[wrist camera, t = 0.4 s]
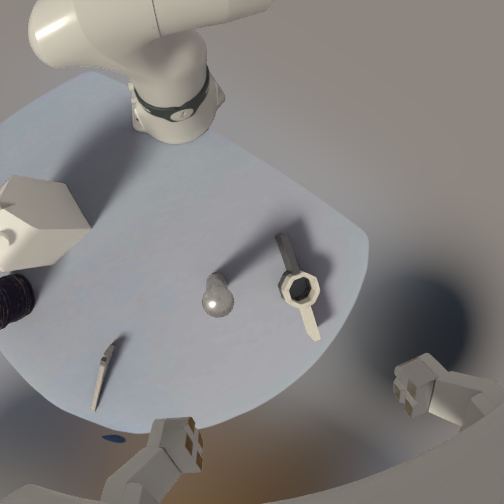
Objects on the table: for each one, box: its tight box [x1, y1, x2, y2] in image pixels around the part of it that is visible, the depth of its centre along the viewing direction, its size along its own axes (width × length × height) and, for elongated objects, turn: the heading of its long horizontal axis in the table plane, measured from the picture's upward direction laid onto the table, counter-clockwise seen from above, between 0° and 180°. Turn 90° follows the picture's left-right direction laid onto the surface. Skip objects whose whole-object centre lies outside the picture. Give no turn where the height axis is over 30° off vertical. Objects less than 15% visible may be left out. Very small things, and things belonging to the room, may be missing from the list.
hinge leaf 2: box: [281, 270, 321, 341], centre depth 55 cm, size 14×6×5 cm, turn 19°
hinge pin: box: [202, 273, 234, 317], centre depth 47 cm, size 4×4×15 cm
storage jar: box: [0, 274, 35, 330], centre depth 41 cm, size 10×10×15 cm
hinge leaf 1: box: [275, 234, 312, 302], centre depth 54 cm, size 14×6×5 cm, turn 19°
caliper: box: [91, 344, 115, 412], centre depth 50 cm, size 20×1×6 cm, turn 154°
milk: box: [0, 176, 92, 272], centre depth 37 cm, size 12×12×26 cm
